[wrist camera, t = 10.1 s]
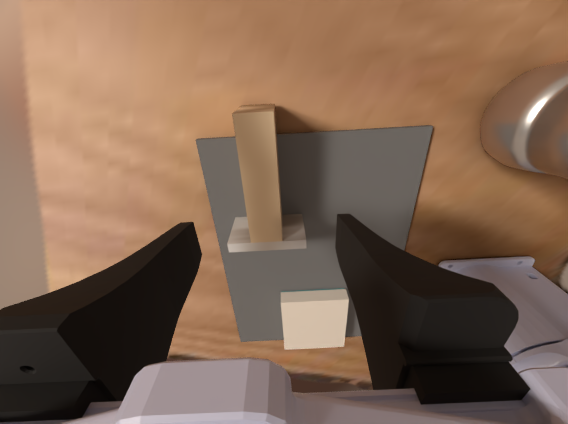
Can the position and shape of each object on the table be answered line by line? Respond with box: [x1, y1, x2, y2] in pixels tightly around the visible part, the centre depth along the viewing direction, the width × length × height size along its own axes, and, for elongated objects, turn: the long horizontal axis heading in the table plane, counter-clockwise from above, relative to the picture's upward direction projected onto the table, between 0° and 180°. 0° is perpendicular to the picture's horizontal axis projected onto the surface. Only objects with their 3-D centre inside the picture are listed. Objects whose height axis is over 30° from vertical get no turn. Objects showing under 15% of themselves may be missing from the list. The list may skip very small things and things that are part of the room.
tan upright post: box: [227, 104, 306, 252], centre depth 19 cm, size 6×10×4 cm, turn 3°
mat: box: [196, 125, 433, 342], centre depth 25 cm, size 18×25×1 cm
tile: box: [281, 288, 349, 350], centre depth 28 cm, size 7×2×8 cm
